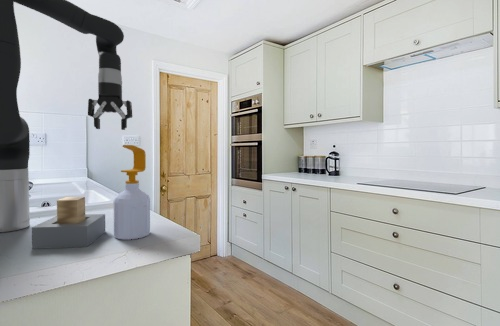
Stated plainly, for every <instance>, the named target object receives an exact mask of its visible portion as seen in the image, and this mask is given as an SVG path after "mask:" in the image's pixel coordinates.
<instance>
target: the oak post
mask: <svg viewBox="0 0 500 326" xmlns="http://www.w3.org/2000/svg"><path fill="white" fill-rule="evenodd" d="M85 214H86V196H65V197H63V198H60V199H57V200H56V216H57V224H72V223H81V222H83V221H84V220H85Z"/></svg>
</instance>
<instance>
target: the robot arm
mask: <svg viewBox="0 0 500 326" xmlns="http://www.w3.org/2000/svg"><path fill="white" fill-rule="evenodd" d="M14 4H18V5H21V6H23V7H26V8H28V9H31V10H33V11H35V12H38V13H40V14H42V15H45V16H46V17H49V18H51V19H53V20H55V21H58V22H60V23H61V24H63V25H65V26H67V27H69V28H71V29H73V30H75V31H77V32H78V33H81V34H82V35H83V34H84V35H89V34H90V35H93V36H95V43H96V44H95V45H96V49H97V54H98V74H97V81H98V82H97V85H98V86H97V87H98V88H97V89H98V90H97V91H98V92H97V93H98V98H97V99H93V98H89V99H87V100H88V102H87V104H88V105H87V116H89V117H92V118H93V127H94V128H95V130H100V129H101V119H100V118H101V116H102V115H104V114H105V113H114V114H116V113H118V115H119V116H120V117H121V119H120V120H121V121H120V125H121V127H120V128H121V129H120V130H122V131H123V130H124V131H125V130H126V129H127V127H128V124H127V123H128V119H132V118H133V105H132V102H131V101H130V100H128V99H127V100H126V101H125V100H123V78H122V77H123V76H122V59H121V56H120V55H119V54H118V53H117V52H118V51H117V46H118V45H120V44H122V43H123V42H124V37H125V34H124V32H123V30H122V29H121V27H120V26H119V25H117V24H116V23H114V22H113V21H111V20H108V19H106V18H103V17H100V16H98V15H95V14H92V13H90V12H88V11H87V10H85V9H84V8H82V7H79V6H78V5H76V4H74V3H73V2H71V1H69V0H0V233H7V232H13V231H19V230H22V229H26V228H28V227H29V226H31V224H30V223H31V222H30V221H31V218H30V186H29V185H30V184H29V181H30V179H29V178H30V177H29V161H30V160H29V159H30V154H31V153H30V151H31V150H30V148H31V147H30V128H29V124H28V122H27V121H26V120H25V119H24V118H23V117H22V116H21V114H20V110H19V105H18V96H17V95H18V94H17V92H18V91H17V90H18V85H19V81H20V76H21V69H22V58H21V45H20V39H19V31H18V26H17V19H16V15H15V13H16V12H15V7H14ZM97 105H98V106H99V107H98V108H96V106H97ZM123 105H124V107H126V114H125V112H124V111H123V109H122V107H123ZM95 108H96V111H95Z"/></svg>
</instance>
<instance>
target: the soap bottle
mask: <svg viewBox="0 0 500 326" xmlns="http://www.w3.org/2000/svg"><path fill="white" fill-rule="evenodd" d="M121 146H122V147H123V148H125V149H127V150H129V151H131V152H132V154H133V167H132V169H123V170H120V172H121V173H126V176H128V180H125V187H124V188H125V189H124V190H123V191H121V192H119V193H118V194H117V195H116V196H114V200H113V236H114V238H115V239H118V240H124V241H125V240H126V241H128V240H129V241H132V240H138V238H139V239H142V238H145V237H147V236H148V235H150V232H151V198H150V196H149V194H147V193H146V192H145V191H142V190H141V189H140V188H139V187H140V183H139V181H140V180H138V179H137V180H136V176H138V173H142V172H144V171H145V170H146V168H147V167H146V166H147V165H146V162H147V161H146V151H145V149H143V148H141V147H138V146H136V145H132V144H122V145H121ZM131 239H132V240H131Z"/></svg>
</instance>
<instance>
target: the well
mask: <svg viewBox="0 0 500 326" xmlns="http://www.w3.org/2000/svg"><path fill="white" fill-rule="evenodd" d="M105 232H106V214H105V213H96V214H95V213H93V214H92V213H91V214H89V213H88V214H86V213H85V220H84V221H83V222H81V223H72V224H57V215H56V216H53V217H52V218H49V219H46V220H44V221H43V222H42V221H41V222H40V223H38V224H35V225H33V226H31V249H34V250H35V249H53V248H55V249H58V248H59V249H60V248H84V247H85V248H86V247H87V248H88V247H89V246H90V245H91V244H92V243H93V242H95V241H96V240H98V238H100V237H101V236H102V235H103V234H105Z"/></svg>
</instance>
